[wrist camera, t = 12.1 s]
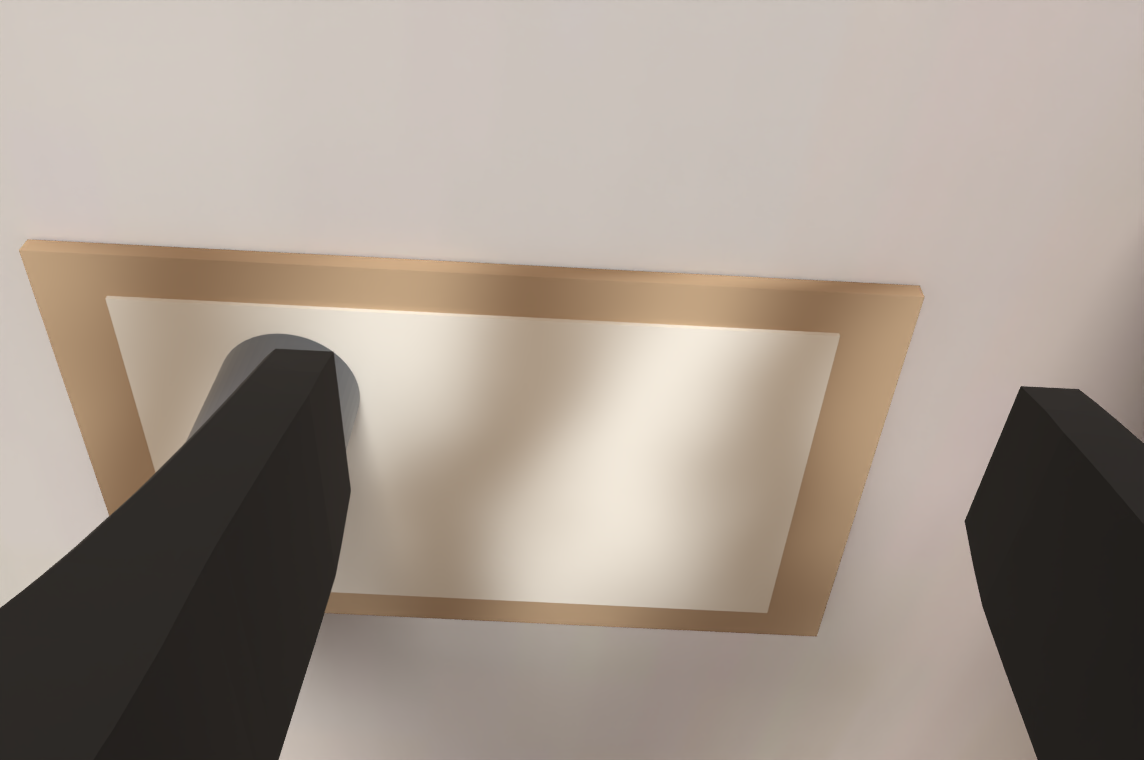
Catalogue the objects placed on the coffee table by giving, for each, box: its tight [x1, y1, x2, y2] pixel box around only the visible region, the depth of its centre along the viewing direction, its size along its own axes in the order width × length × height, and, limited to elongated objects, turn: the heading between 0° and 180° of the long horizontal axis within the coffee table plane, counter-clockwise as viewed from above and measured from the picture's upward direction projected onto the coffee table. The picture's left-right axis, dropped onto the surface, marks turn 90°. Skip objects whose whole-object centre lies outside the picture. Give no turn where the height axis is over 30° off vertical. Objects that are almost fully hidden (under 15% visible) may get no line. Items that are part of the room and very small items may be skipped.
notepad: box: [19, 240, 924, 636], centre depth 24 cm, size 18×11×1 cm, turn 87°
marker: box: [185, 334, 360, 450], centre depth 19 cm, size 3×3×8 cm
